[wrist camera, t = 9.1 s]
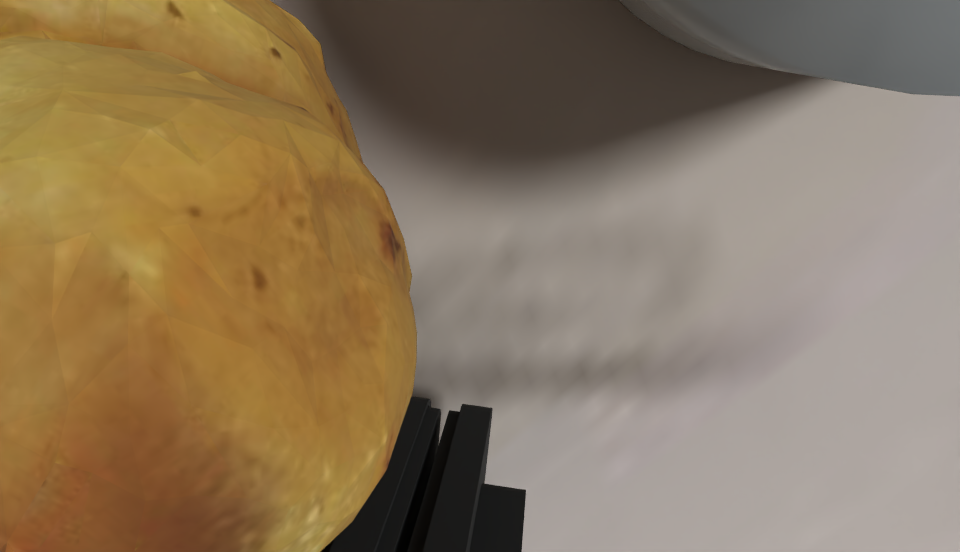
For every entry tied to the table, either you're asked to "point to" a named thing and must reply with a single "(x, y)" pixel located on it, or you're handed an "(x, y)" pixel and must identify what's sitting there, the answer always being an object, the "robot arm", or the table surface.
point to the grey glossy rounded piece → (823, 38)
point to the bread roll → (189, 284)
